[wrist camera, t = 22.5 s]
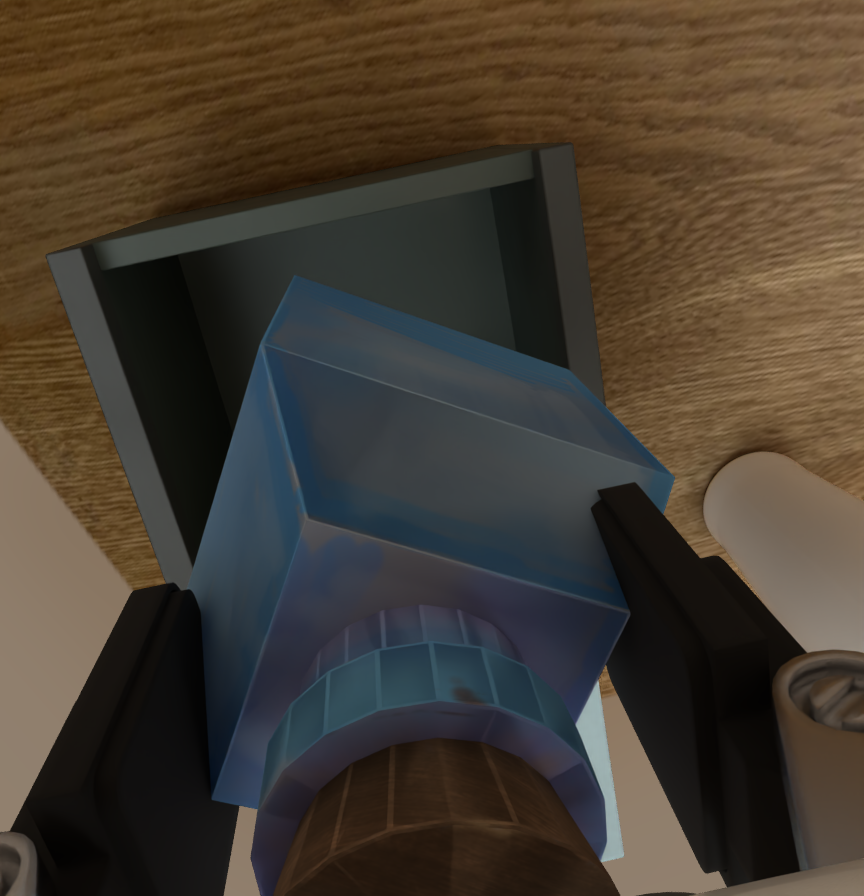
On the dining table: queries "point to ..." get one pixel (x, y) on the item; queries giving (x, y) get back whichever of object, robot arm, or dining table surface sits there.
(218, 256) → the display box
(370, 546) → the perfume bottle
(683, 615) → the robot arm
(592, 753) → the box lid
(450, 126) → the dining table surface
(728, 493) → the drinking glass
